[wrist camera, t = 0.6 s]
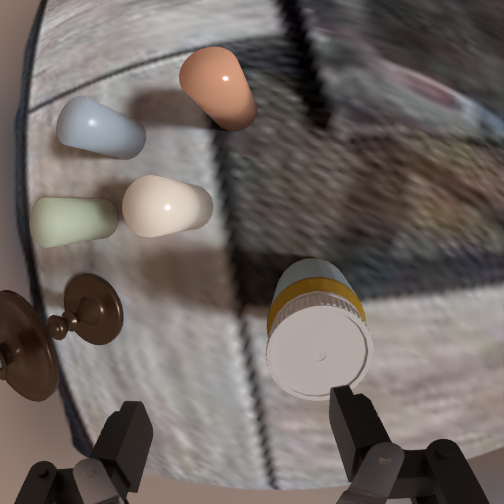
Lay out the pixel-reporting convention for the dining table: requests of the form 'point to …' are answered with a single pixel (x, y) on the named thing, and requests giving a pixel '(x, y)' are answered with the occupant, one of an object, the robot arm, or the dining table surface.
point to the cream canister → (165, 206)
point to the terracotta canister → (219, 87)
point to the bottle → (316, 331)
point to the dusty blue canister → (99, 129)
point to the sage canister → (71, 220)
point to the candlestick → (53, 333)
